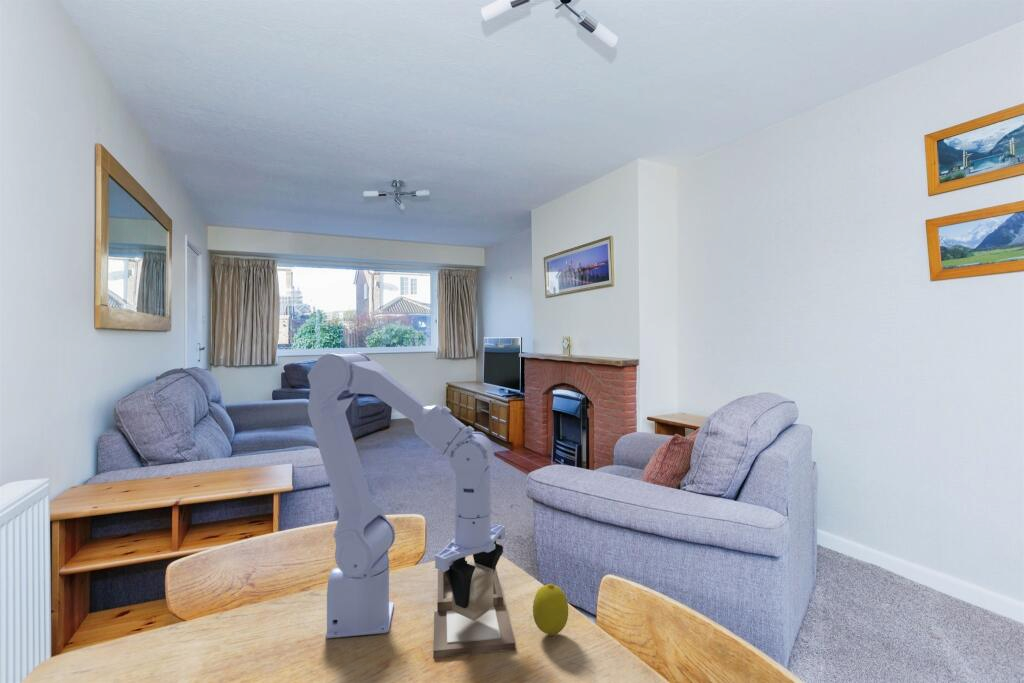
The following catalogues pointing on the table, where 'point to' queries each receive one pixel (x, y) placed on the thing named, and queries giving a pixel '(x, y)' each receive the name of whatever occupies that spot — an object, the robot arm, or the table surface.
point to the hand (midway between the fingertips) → (472, 597)
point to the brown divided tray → (471, 626)
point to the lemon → (550, 609)
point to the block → (478, 593)
